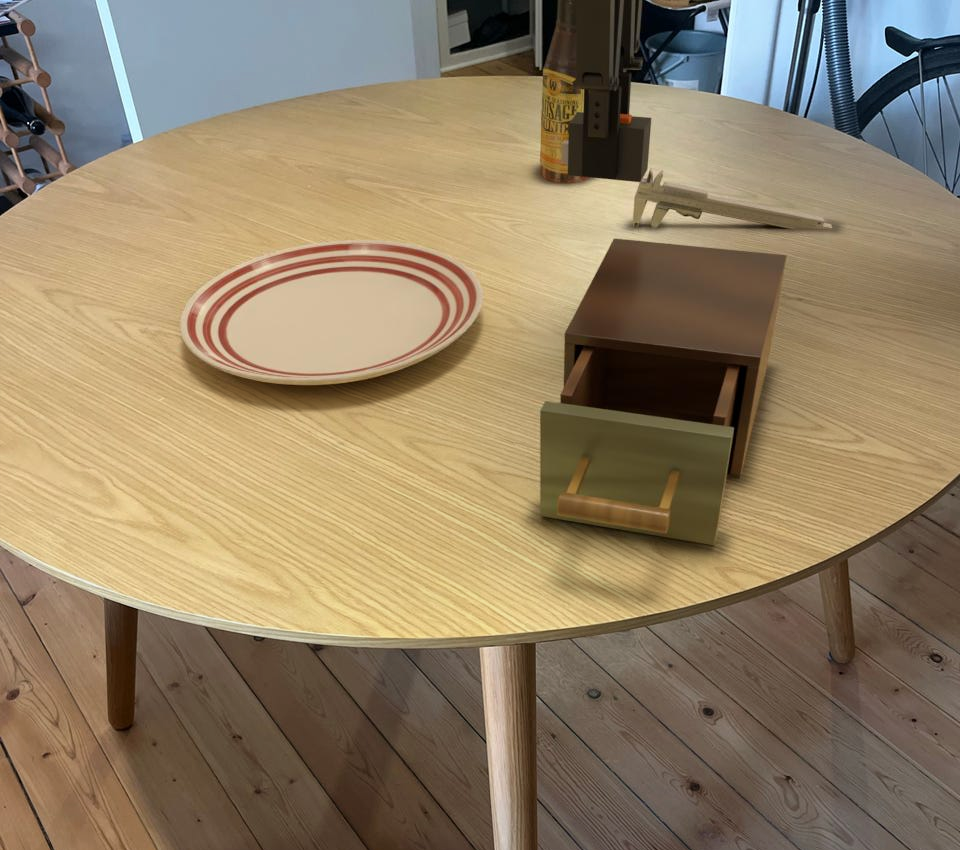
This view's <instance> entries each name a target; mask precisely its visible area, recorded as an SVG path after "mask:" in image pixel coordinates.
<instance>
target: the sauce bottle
mask: <svg viewBox="0 0 960 850" xmlns="http://www.w3.org/2000/svg"><path fill="white" fill-rule="evenodd" d="M556 9H557V11H556V12H557V13H556V21H555V28H554V31H553V35H552V38H551V42H550V46H549V48H548V53H547V55H546V58H545V63H544V65H543V68H542V92H541V93H542V94H541V116H540V122H541V123H540V152H539V163H540V175H541V176H542V177H543V178H544V179H545V180H547V181H549V182H552V183H560V184H572V183H579V182H584V181H587V180H588V179H589V178H590V177H579V176H569V175H568V164H561V148H562V143H563V141H564V140H567V141H568V137H569V123H570V121H571V120H572V119H573V117H574V116H575V115H576V113H577V112H583V111H584V89H573V81H574V80H575V79H576V0H557V8H556Z"/></svg>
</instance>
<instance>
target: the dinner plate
mask: <svg viewBox="0 0 960 850" xmlns="http://www.w3.org/2000/svg"><path fill="white" fill-rule="evenodd" d="M483 291H484V290H483V287H482V284H481V282H480V280H479V278H478V276H477V275H476V274H475V272H473V270H471V269H470V267H468V266H467V265H466V264H465V263H463V262H462V261H460V260H458V259H456V258H455V257H452V256H451V255H448V254H446V253H443V252H442V251H439V250H435V249H432V248H428V247H425V246H422V245H416V244H412V243H407V242H400V241H392V240H383V239H382V240H381V239H347V240H345V239H344V240H333V241H322V242H316V243H308V244H304V245H303V244H302V245H299V246H298V245H297V246H292V247H288V248H284V249H281V250H277V251H273V252H269V253H267V254H263V255H261V256H257V257H254V258H252V259H250V260H246V261H244V262H241V263H239V264H236V265H235V266H233V267H231V268H229V269H227V270H224V271H223V272H221V273H219V274H218V275H216V276H214V277H213V278H211V279H210V280H208V281H207V282H206V283H205V284H203V285H202V286H200V288H199V289H198V290H196V291H195V292H194V293H193V294H192V296H191V297H190V298H189V299H188V301H187V302H186V304H185V305H184V307H183V309H182V312H181V316H180V318H179V331H180V332H179V333H180V335H181V338H182V341H183V342H184V344H185V346H186V347H187V349H188V350H189V351H190V352H191V353H192V354H193V355H194V356H195V357H196V358H198V359H199V360H201V361H202V362H204V363H206V364H207V365H208V366H211V367H213V368H215V369H217V370H220V371H222V372H224V373H226V374H230V375H233V376H236V377H239V378H242V379H243V378H244V379H248V380H251V381H257V382H263V383H269V384H277V385H278V384H279V385H288V386H289V385H291V386H292V385H293V386H325V385H338V384H345V383H351V382H352V383H353V382H359V381H363V380H364V381H365V380H368V379H374V378H378V377H380V376H384V375H388V374H391V373H394V372H397V371H401V370H404V369H405V368H409V367H411V366H414V365H416V364H418V363H420V362H422V361H425V360H426V359H428V358H430V357H433V356H434V355H436V354H438V353H439V352H441V351H442V350H444V349H445V348H447V347H448V346H450V345H451V344H453V343H454V342H456V340H458V339H459V338H460V337H461V336H463V335H464V334H465V333H466V331H467V330H468V329H469V328H470V327H471V326H472V325H473V324H474V322H475V321H476V319H478V316H479V314H480V311H481V309H482V306H483V301H484V292H483Z"/></svg>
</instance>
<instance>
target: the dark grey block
mask: <svg viewBox="0 0 960 850" xmlns="http://www.w3.org/2000/svg"><path fill="white" fill-rule="evenodd" d="M651 128H652V117H648V116H647V117H646V116H636V115H634V116H633V115H632V114H630V113H629V114H620V128H619V147H618V167H617V176H616V178H615V179H609V178H598V177H589V178H590V179H600V180H601V179H602V180H611V181H621V182H622V181H624V182H633V183H640V182H641V180H642V178H645V175H646V173H647V172H648V167H649V157H650V155H649V154H650V142H651ZM582 148H583V112H577V113H576V115H575V116H574V117H573V119H572V120H571V121H570V123H569V137H568V141H567V140H564V141H563V143H562V148H561V164H568V175H569V176H579V177H586V176H582Z"/></svg>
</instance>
